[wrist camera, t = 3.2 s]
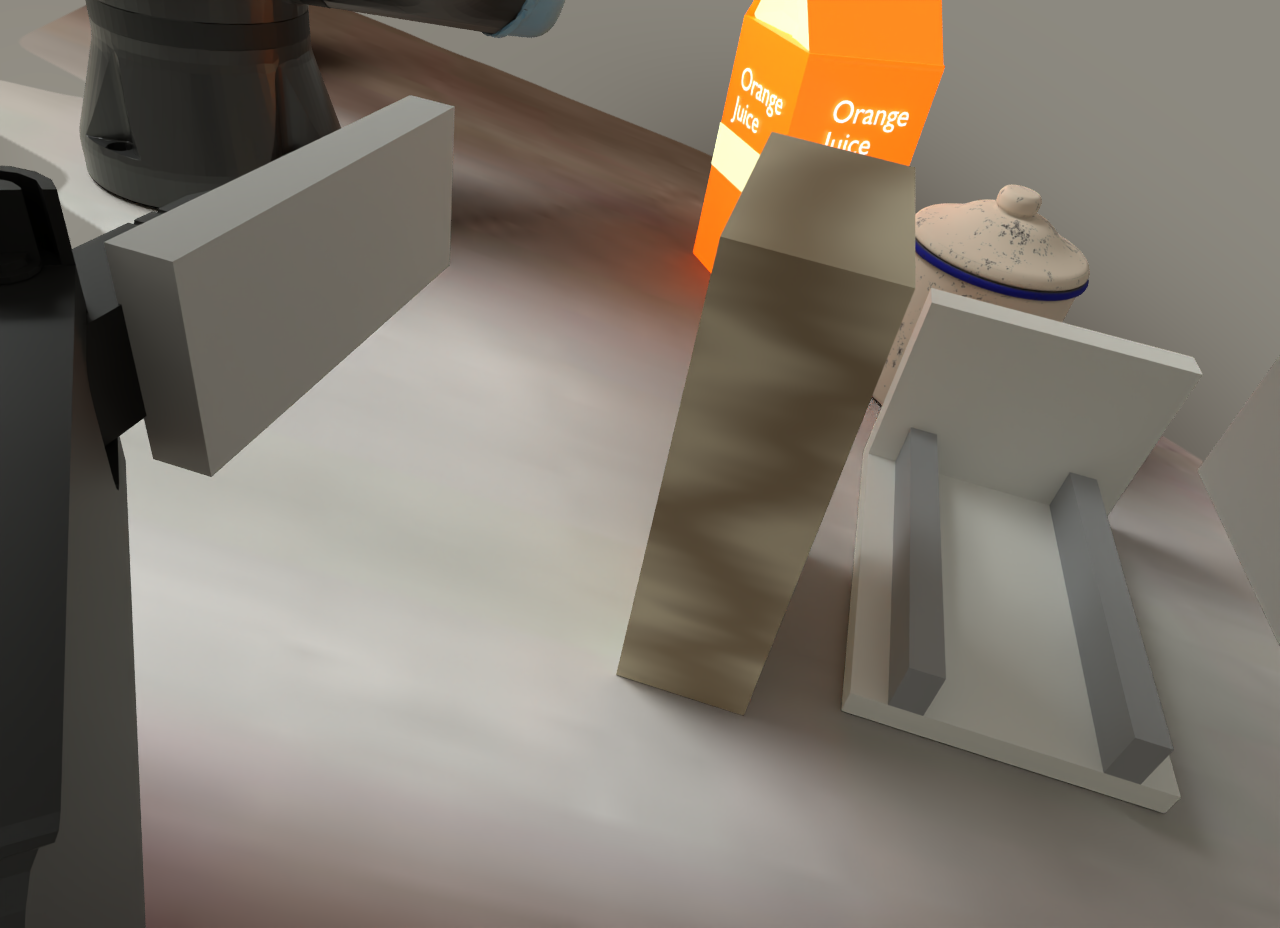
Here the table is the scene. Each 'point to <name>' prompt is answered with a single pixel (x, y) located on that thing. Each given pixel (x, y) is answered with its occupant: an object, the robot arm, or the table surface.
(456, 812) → the table surface
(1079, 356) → the track
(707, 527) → the tall wooden block
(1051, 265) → the teacup with lid
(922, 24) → the orange juice
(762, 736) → the table surface
